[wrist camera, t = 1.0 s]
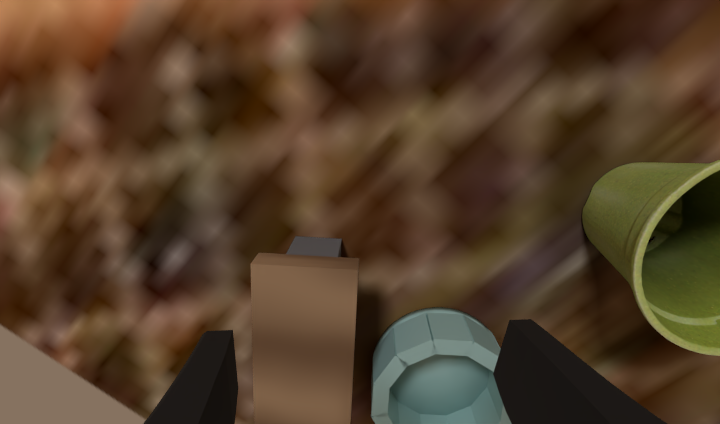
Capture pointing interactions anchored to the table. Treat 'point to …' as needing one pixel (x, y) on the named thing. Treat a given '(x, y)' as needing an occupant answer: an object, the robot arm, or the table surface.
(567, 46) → the table surface
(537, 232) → the table surface
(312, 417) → the walnut board
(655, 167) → the plant pot
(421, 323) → the bowl
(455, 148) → the table surface
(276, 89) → the table surface
